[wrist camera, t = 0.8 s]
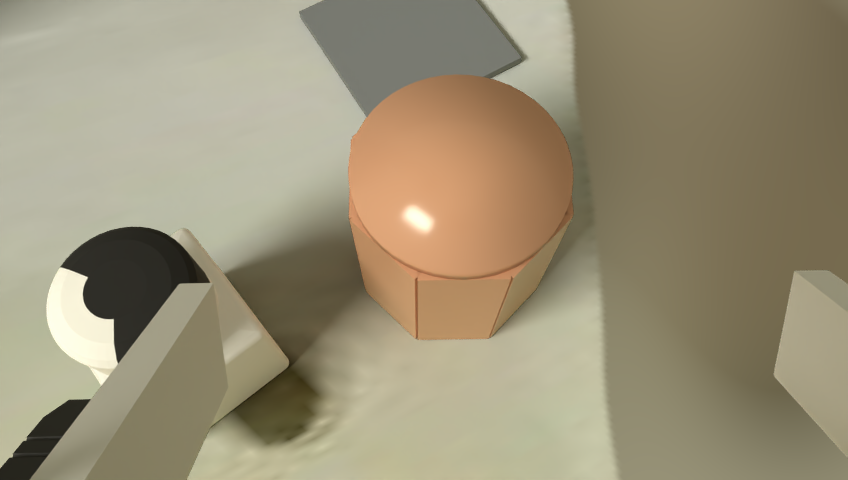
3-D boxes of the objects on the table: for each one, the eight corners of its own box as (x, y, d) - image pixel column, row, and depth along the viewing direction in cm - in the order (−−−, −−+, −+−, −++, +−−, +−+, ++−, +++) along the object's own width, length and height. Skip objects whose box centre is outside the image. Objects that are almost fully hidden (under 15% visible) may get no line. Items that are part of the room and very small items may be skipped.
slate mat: (300, 17, 47) (299, 11, 46) (435, -44, 49) (435, -51, 49) (378, 134, 43) (378, 129, 43) (520, 63, 46) (521, 57, 45)
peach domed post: (331, 258, 40) (301, 169, 30) (446, 153, 43) (455, 39, 33) (454, 375, 37) (467, 321, 27) (568, 255, 40) (619, 165, 30)
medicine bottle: (222, 272, 40) (147, 176, 29) (293, 365, 38) (240, 300, 27) (115, 348, 38) (-10, 277, 27) (183, 450, 36) (77, 418, 25)
